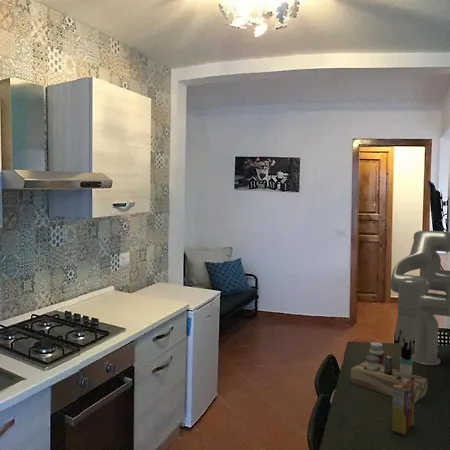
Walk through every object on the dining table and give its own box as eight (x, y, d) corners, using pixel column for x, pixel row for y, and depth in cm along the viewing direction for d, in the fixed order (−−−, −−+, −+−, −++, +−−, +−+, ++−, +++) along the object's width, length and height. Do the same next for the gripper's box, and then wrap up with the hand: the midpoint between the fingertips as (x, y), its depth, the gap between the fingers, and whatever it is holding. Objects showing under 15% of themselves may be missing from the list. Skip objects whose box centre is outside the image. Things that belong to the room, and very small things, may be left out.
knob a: (369, 373, 198) (369, 354, 198) (380, 376, 195) (381, 357, 194) (362, 376, 195) (363, 357, 194) (374, 380, 191) (375, 360, 190)
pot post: (386, 371, 191) (387, 354, 191) (393, 373, 189) (394, 356, 189) (382, 373, 189) (383, 356, 189) (390, 375, 187) (390, 358, 187)
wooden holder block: (365, 374, 203) (365, 360, 203) (426, 393, 185) (427, 378, 184) (350, 382, 195) (351, 368, 194) (413, 403, 176) (414, 387, 176)
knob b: (402, 375, 188) (402, 355, 187) (415, 379, 184) (415, 358, 184) (395, 378, 184) (396, 358, 184) (409, 382, 181) (409, 362, 180)
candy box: (400, 420, 164) (402, 377, 162) (413, 424, 161) (415, 380, 160) (390, 430, 157) (392, 385, 156) (404, 435, 154) (405, 389, 153)
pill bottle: (386, 370, 209) (387, 344, 208) (376, 372, 205) (377, 347, 204) (374, 365, 214) (375, 340, 213) (365, 368, 210) (366, 343, 210)
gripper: (407, 306, 190) (405, 351, 192) (389, 312, 180) (387, 360, 181) (426, 309, 185) (424, 356, 186) (409, 316, 174) (407, 365, 176)
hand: (406, 358), depth 184 cm, fingers closed
